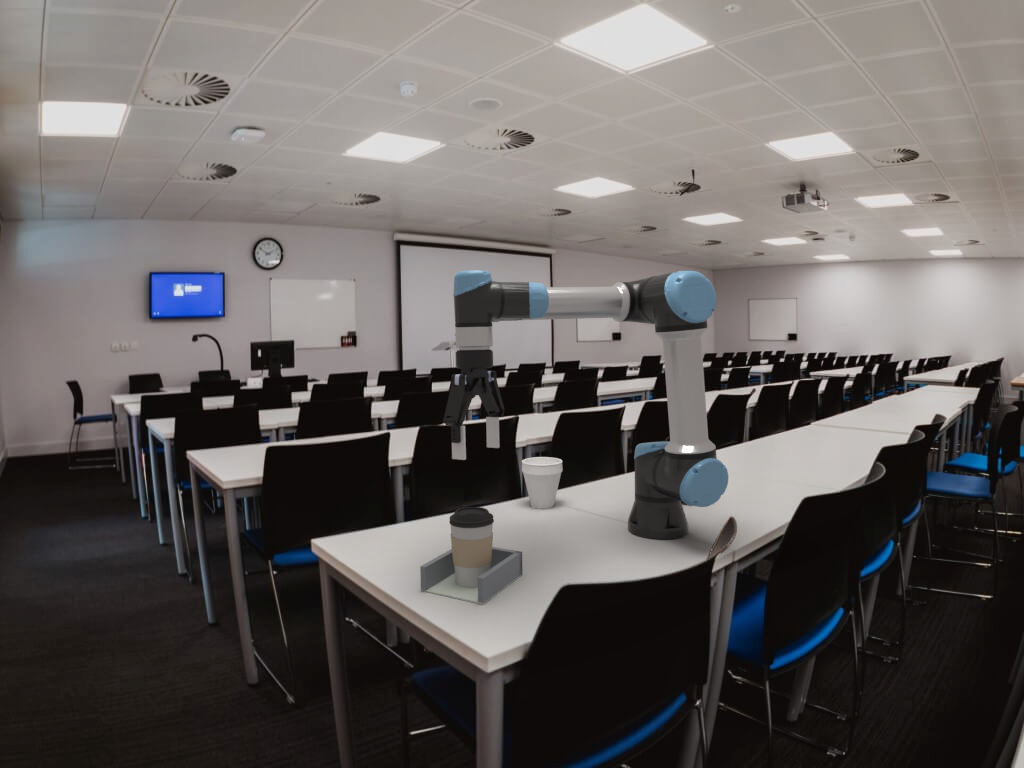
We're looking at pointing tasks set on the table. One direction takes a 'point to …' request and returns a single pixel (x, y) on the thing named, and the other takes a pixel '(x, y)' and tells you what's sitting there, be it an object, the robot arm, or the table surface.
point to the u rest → (501, 574)
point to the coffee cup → (471, 544)
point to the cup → (542, 480)
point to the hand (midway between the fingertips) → (477, 453)
